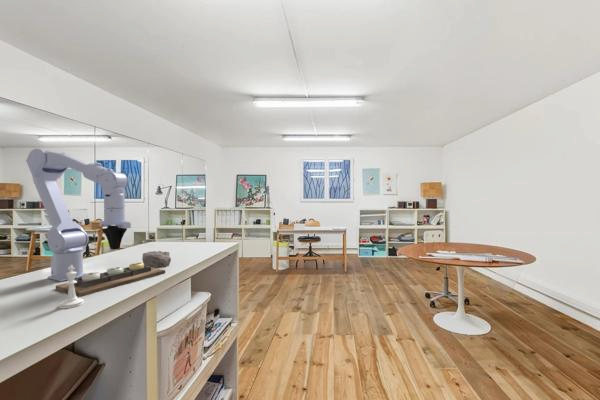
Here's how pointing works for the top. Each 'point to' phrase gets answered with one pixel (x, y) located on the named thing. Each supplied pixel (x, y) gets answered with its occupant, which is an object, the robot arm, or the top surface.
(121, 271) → the button two
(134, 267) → the button three
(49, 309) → the top surface
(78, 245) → the robot arm
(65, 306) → the chess piece
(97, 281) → the button board
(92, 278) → the button one
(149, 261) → the stone
